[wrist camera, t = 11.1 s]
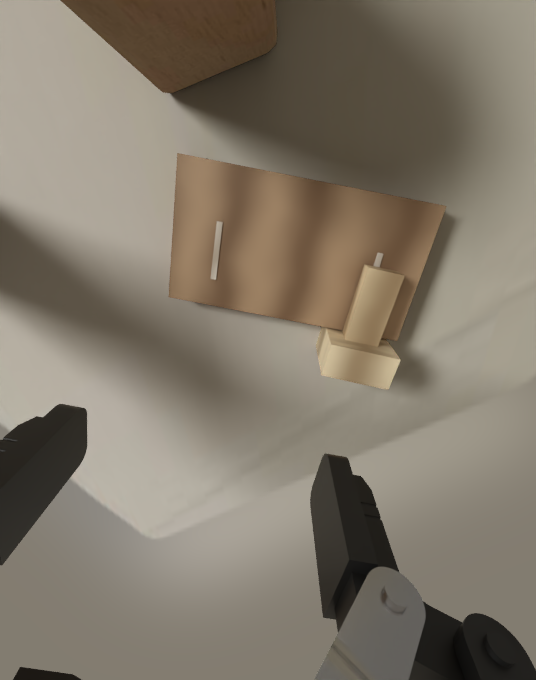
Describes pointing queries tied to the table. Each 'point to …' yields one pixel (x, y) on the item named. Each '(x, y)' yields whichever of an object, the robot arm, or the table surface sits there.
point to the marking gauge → (363, 333)
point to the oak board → (291, 242)
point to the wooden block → (182, 35)
